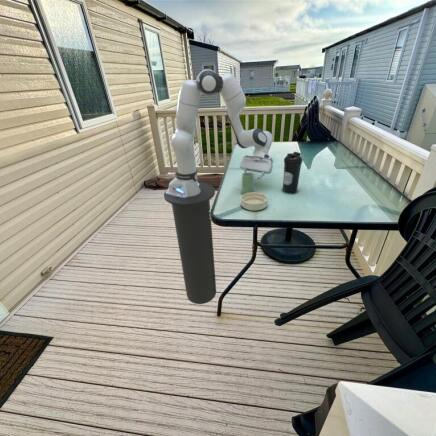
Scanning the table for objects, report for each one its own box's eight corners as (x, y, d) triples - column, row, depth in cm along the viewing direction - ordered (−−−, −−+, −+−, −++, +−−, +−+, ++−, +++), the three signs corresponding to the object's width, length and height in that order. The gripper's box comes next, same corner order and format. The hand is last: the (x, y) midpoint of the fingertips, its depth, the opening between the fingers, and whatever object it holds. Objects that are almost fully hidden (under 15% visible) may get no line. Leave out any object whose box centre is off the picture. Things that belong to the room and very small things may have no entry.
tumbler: (240, 195, 146) (240, 175, 139) (243, 190, 151) (243, 171, 145) (251, 196, 144) (252, 176, 138) (254, 191, 149) (254, 172, 143)
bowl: (238, 209, 130) (238, 202, 128) (244, 198, 142) (244, 191, 140) (264, 213, 126) (264, 205, 124) (269, 201, 138) (269, 193, 136)
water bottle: (277, 190, 150) (280, 153, 138) (288, 185, 155) (292, 149, 143) (291, 195, 143) (295, 157, 131) (301, 190, 148) (307, 153, 136)
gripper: (242, 152, 151) (235, 172, 149) (273, 156, 142) (266, 178, 140) (245, 157, 156) (238, 177, 154) (275, 161, 147) (268, 182, 145)
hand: (251, 177), depth 147 cm, fingers open, 8 cm apart
